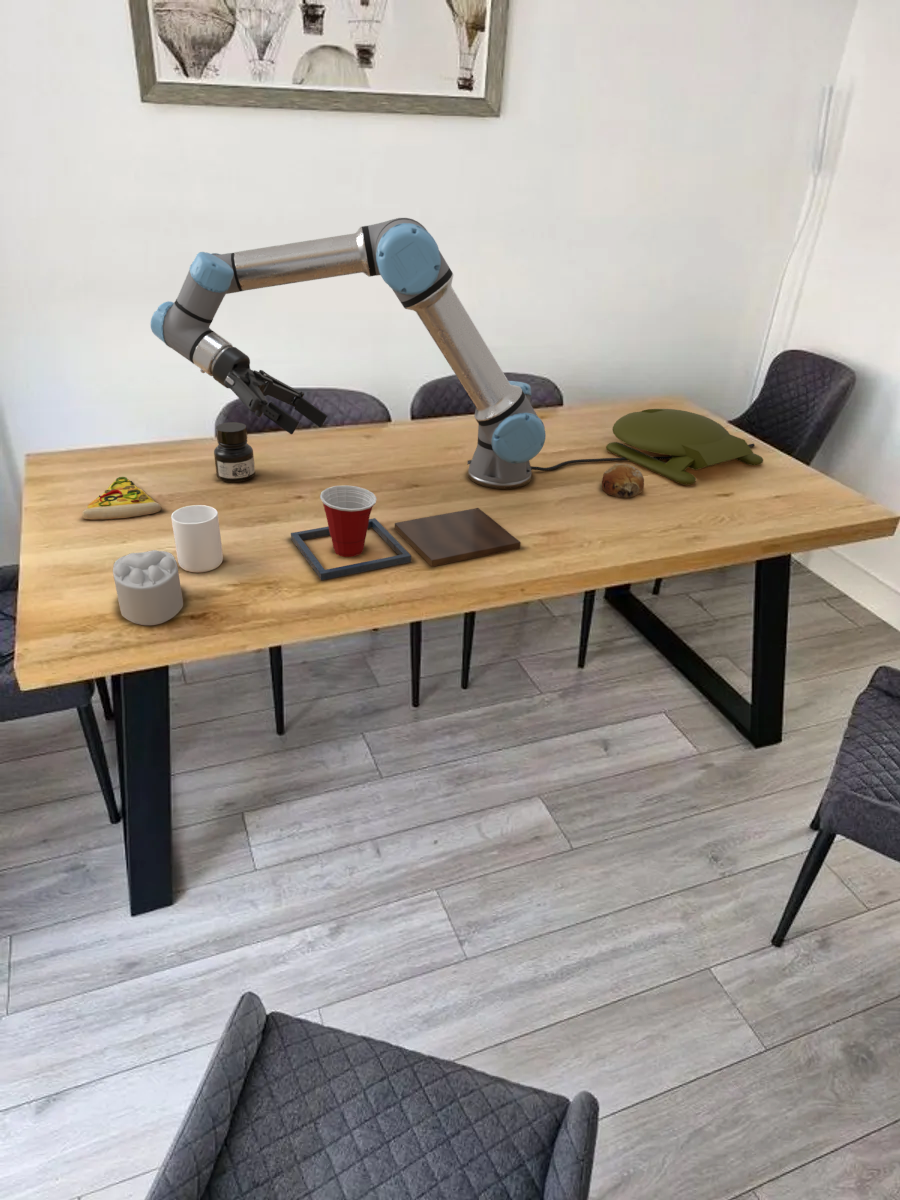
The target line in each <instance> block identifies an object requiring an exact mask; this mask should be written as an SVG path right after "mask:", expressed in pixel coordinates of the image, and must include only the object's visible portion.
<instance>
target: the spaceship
mask: <svg viewBox="0 0 900 1200" xmlns="http://www.w3.org/2000/svg"><path fill="white" fill-rule="evenodd" d="M612 434H613V435H614V437H615V438H617V439H618V440H619V441H621V442H623V443H621V442H618V441H612V442H609V443H607V444H606V446H605V449H606V450H607V451H608V452H609V453H611V454H613V455H615V456H618V457H619V458H626V459H627V460H628V462H631V463H633V464H635V465H637V466H640V467H642V468H644V469H646V470H647V471H650V472H653V473H655V474H657V475H660V476H662V477H664V478H666V479H668V480H670V481H673V482H675V483H677V484H679V485H683V486H690V485H693V484H694V483H696V482H697V478H696V476H695V475H694V474H692V473H691V472H688V471H687V469H691V470H694V471H697V470H700V469H704V468H708V467H711V466H715V465H719V464H722V463H727V462H731V461H734V460H736V461H739V462H741V463H743V464H746V465H749V466H761V464H763V463H764V458H763V457H762V456H761V455H760V454H756V453H754V451H753V450H752V448H751V447H749V446H748V445H749V444H748V443H747V441H746V440H745V439H744V438H740V437H738V436H735V435H733V434H730V432H729V431H728V430H727V428H725V427H724V426H723V425H721V423H718V422H717V421H715V420H713V419H712V418H709V417H707V416H705V415H702V414H698V413H695V412H691V411H687V410H681V409H673V408H647V409H643V410H641V411H632V412H629V413H627V414H625V415H623V416H620V417H619V418H618V419H617V420H616V421H615V422H614V424H613V425H612ZM626 444H627V445H626ZM636 448H637V449H636ZM638 449H639V450H638ZM640 450H643V451H645V452H649V453H655V454H660V455H665V456H671V457H672V458H671V459H668V461H667V462H665V461H663V460H662V459H660V460H658V459H656V458H654V457H655V456H651V455H649V454H647V453H644V452H642V451H640Z"/></svg>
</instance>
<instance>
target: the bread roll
mask: <svg viewBox="0 0 900 1200" xmlns="http://www.w3.org/2000/svg"><path fill="white" fill-rule="evenodd" d="M644 487H645V477H644V475H643V473H642V471H640V470H639V469H638V468H636V467H635V466H633V465H631V464H628V463H615V464H614V465H612V466H611V467H609V468H608V469H606V470H605V471H604V472H603V474H602V478H601V489H602V491H603V492H604V493H605V494H607V495H609V496H611V497H612V496H613V497H618V498H623V499H624V498H633V497H635V496H638V495H640V494H641V493H642V492H643V491H644Z"/></svg>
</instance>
